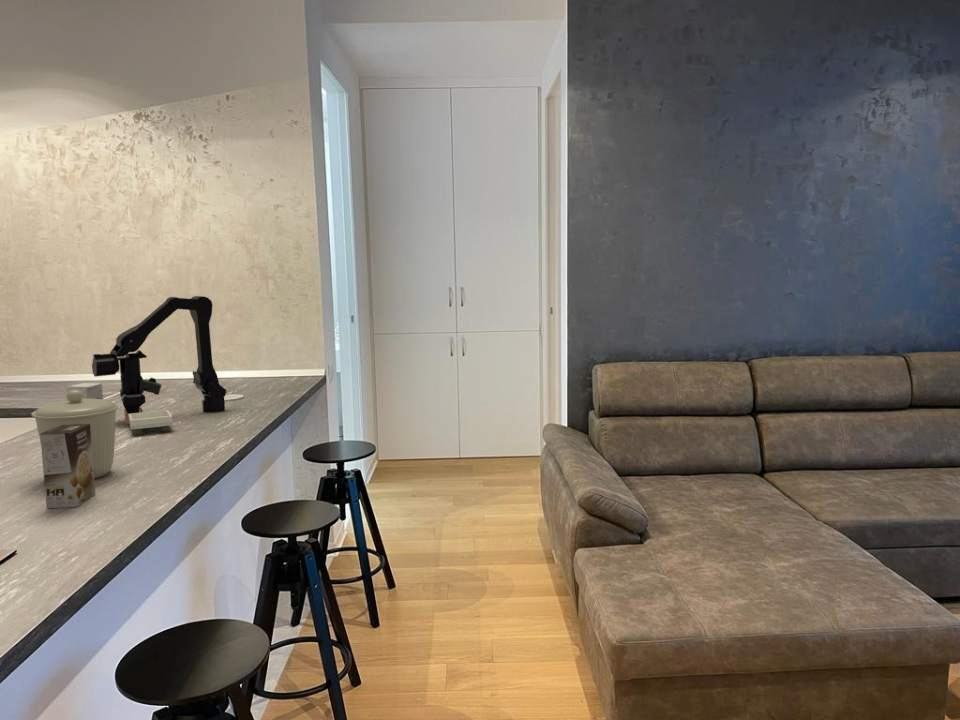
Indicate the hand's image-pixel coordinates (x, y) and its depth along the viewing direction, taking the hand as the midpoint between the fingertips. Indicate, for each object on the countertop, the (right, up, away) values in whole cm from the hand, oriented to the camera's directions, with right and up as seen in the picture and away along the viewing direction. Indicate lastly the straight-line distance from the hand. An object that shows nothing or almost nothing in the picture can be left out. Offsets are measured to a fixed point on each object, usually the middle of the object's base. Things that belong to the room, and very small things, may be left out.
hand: (134, 421), depth 229 cm
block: (0, -1, 0) cm, 1 cm away
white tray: (+11, -2, -13) cm, 17 cm away
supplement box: (-17, -1, +4) cm, 17 cm away
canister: (+13, -9, -55) cm, 57 cm away
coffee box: (+21, -11, -73) cm, 77 cm away
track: (+16, -2, -11) cm, 19 cm away
